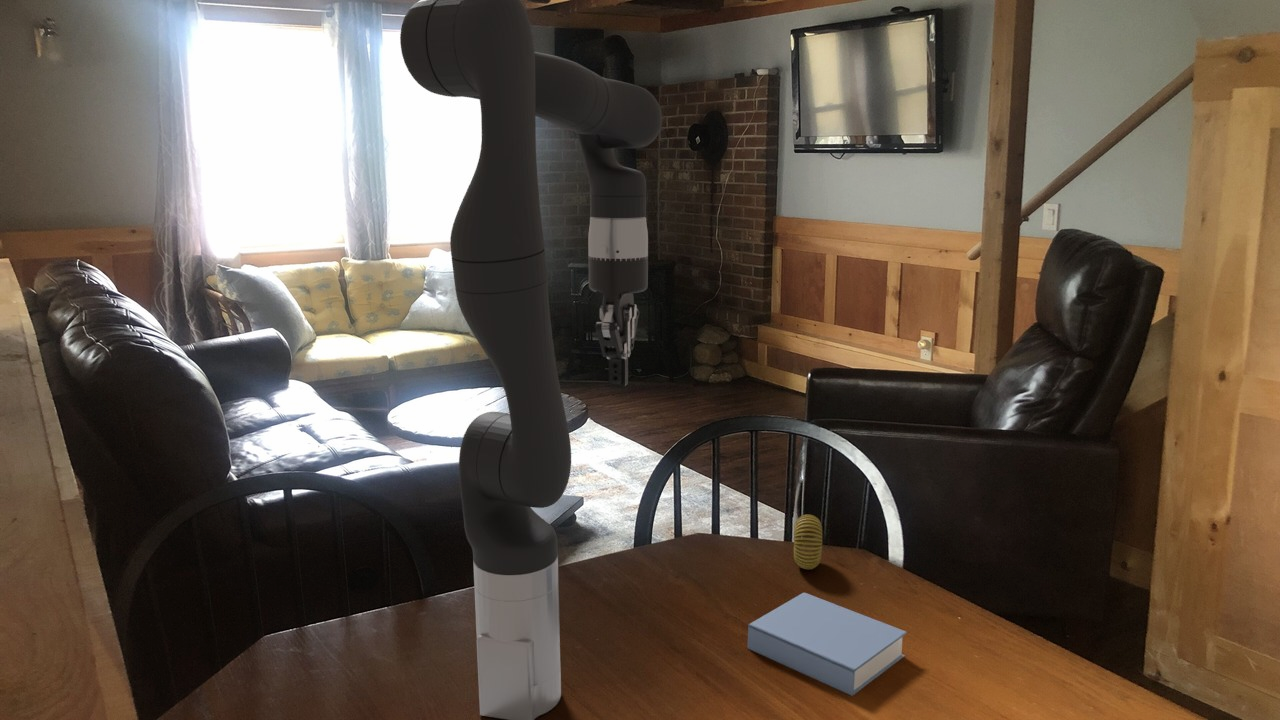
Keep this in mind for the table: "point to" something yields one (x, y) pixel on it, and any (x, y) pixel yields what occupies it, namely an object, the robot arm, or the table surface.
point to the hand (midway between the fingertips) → (618, 386)
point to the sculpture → (807, 541)
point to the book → (827, 642)
